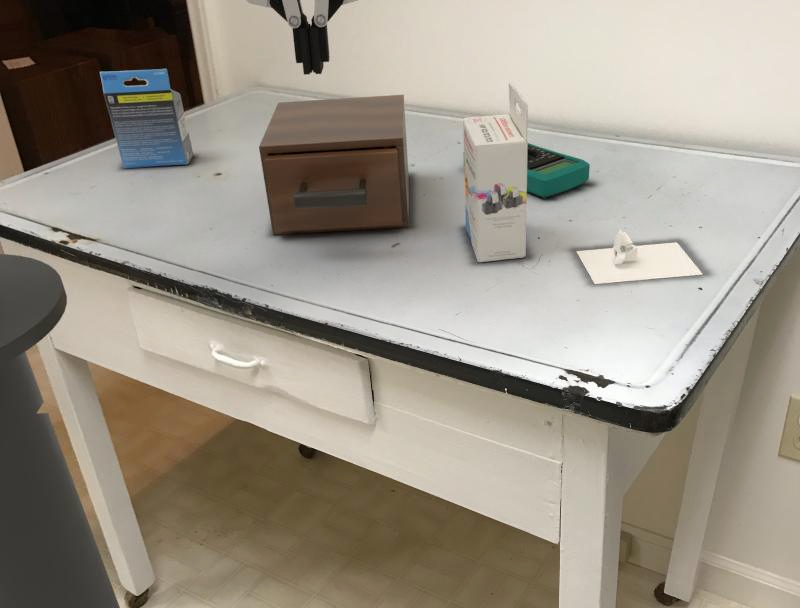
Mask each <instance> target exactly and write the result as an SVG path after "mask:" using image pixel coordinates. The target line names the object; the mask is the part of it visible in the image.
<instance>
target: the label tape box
mask: <svg viewBox="0 0 800 608" xmlns="http://www.w3.org/2000/svg"><path fill="white" fill-rule="evenodd" d="M99 76H100V80H101V85H102V91H103V97H104V101H105V103H106V107H107V111H108V114H109V118H110V121H111V126H112V130H113V134H114V137H115V141H116V145H117V149H118V152H119V156H120V159H121V164H122V167H123V168H124V169H136V168H150V167H161V166H163V167H165V166H181V165H189V163H190V161H191V160H192V158H193V157H194V151H193V146H192V140H191V136H190V131H189V128H188V123H187V118H186V114H185V110H184V106H183V100H182V96H181V93H180V92H178V91H176V90H174V89H172V88H171V85H170V77H169V72H168V69H167V68H159V69H139V70H138V69H136V70H119V71H118V70H117V71H99ZM133 79H136V80H137V81H145V83H146V84H139V85H125V82H131V81H132V80H133Z"/></svg>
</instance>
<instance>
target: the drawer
mask: <svg viewBox="0 0 800 608" xmlns="http://www.w3.org/2000/svg"><path fill="white" fill-rule="evenodd" d="M264 162H265V168H266V175H267V181H268V187H269V194H270V200H271V206H272V213H273V219H274V225H275V232H286V231H304V230H321V229H339V228H357V227H374V226H392V225H402V206H401V191H400V176H399V161H398V148H395V146H387V147H380V149H374V150H358V151H341V152H325V153H308V154H298V152H288V153H275V156H266V157H265V159H264Z"/></svg>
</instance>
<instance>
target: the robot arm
mask: <svg viewBox="0 0 800 608" xmlns="http://www.w3.org/2000/svg"><path fill="white" fill-rule="evenodd" d="M357 1H358V0H314V10H313V11H314V13H313V15H312V18H311V20H310V21H311V22H310V23H309V21H308V16H307V15H306V14H305V13H304V8H303V4H302V0H246V2H247V3H248V4H251V5H255V6H260V7H264V8H272V10H274V12H276V13H277V14H278V15H279V16H280V18H282V19H283V20H284V21H286V22H287V25H288V26H289V27H290V28H291V29H292V39H293V49H294V57H295V63H296V64H302V70H303V71H302V72H303V75H311V74H312V73H313V74H315V75H322V73H323V70H324V68H325V67H324V64H325V63H329V62H330V46H329V35H328V22H329V21H330V20H331V19H332V17H333V16H334V15H335V14H336V13H337V12H338V10H339V9H340V8H341V6H344V5H348V4H350V3H354V2H357Z"/></svg>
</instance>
